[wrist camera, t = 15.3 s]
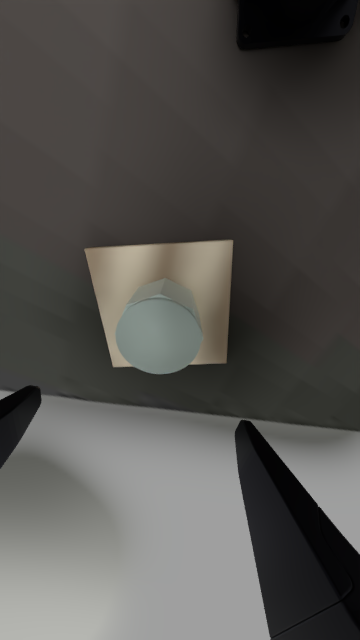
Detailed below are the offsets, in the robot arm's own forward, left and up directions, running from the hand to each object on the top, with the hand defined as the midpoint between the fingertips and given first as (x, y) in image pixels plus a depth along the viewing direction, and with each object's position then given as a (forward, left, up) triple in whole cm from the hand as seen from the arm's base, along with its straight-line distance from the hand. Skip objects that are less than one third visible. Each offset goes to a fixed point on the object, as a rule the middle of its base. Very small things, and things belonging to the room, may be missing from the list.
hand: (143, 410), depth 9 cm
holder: (0, 0, -12) cm, 12 cm away
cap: (0, 0, -11) cm, 11 cm away
